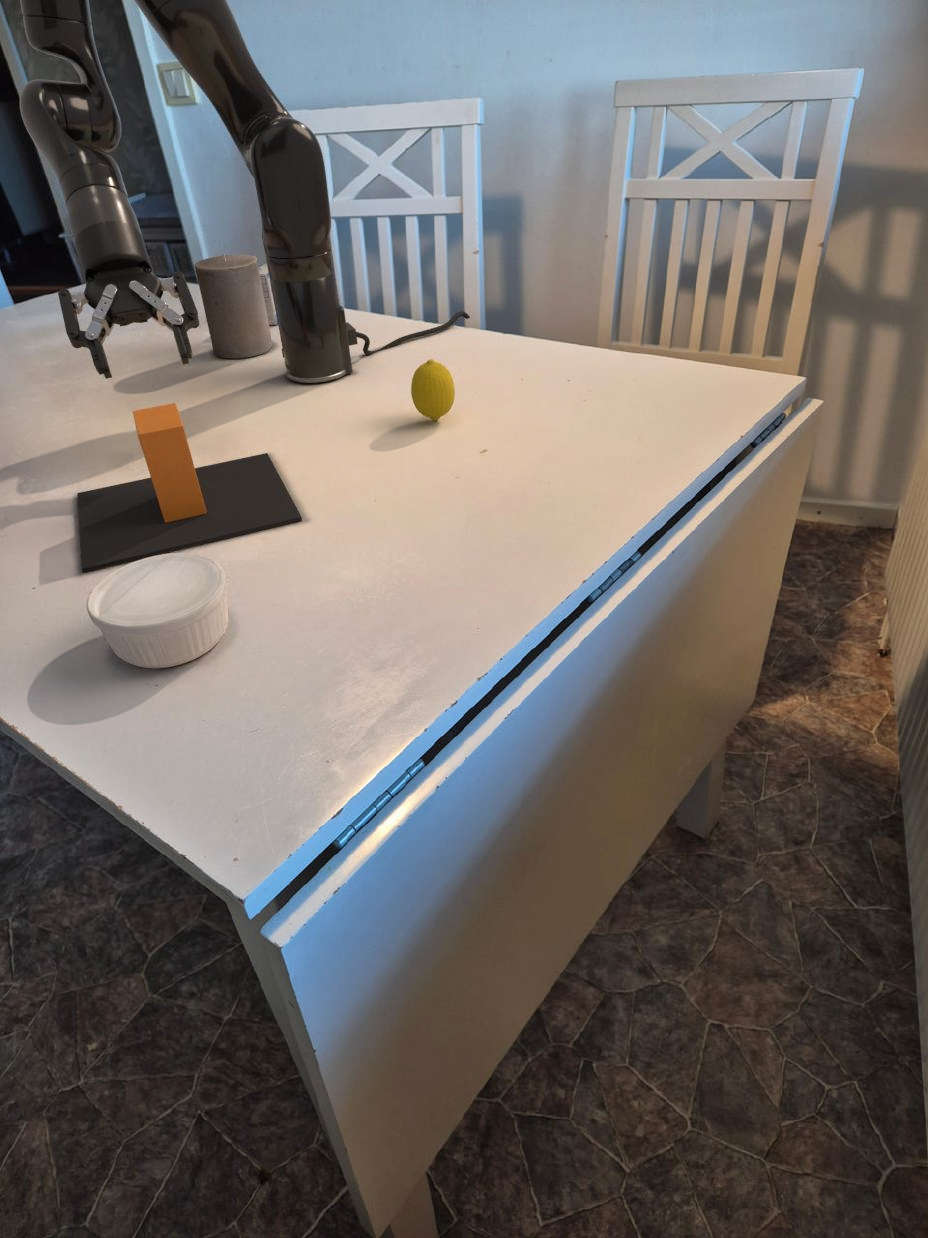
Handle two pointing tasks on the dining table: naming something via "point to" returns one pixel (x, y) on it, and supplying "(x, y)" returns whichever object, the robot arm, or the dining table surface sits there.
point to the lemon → (432, 390)
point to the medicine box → (268, 294)
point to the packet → (169, 462)
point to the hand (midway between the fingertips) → (147, 367)
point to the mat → (136, 529)
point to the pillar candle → (234, 305)
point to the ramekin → (162, 609)
